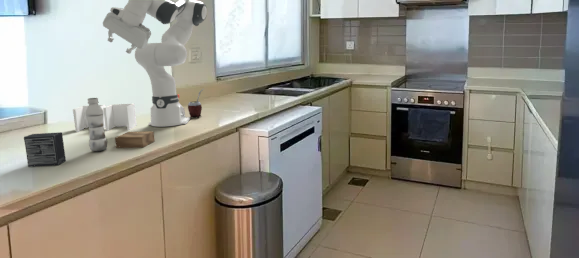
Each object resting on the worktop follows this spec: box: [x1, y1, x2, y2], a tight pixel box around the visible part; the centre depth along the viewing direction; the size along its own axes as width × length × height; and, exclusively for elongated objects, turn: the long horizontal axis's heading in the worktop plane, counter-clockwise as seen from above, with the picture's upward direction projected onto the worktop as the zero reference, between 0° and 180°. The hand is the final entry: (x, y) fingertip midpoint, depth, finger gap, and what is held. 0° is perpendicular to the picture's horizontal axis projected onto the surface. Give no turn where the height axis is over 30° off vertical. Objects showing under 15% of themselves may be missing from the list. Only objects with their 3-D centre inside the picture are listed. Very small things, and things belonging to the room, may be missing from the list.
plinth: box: [114, 130, 156, 149], centre depth 189 cm, size 11×11×4 cm
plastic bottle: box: [85, 97, 108, 152], centre depth 179 cm, size 6×7×20 cm
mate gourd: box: [187, 88, 204, 119], centre depth 248 cm, size 8×8×15 cm
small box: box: [23, 131, 67, 168], centre depth 164 cm, size 11×6×10 cm, turn 92°
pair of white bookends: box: [72, 103, 138, 133], centre depth 226 cm, size 25×11×11 cm, turn 90°
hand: (118, 47), depth 203 cm, fingers open, 8 cm apart
